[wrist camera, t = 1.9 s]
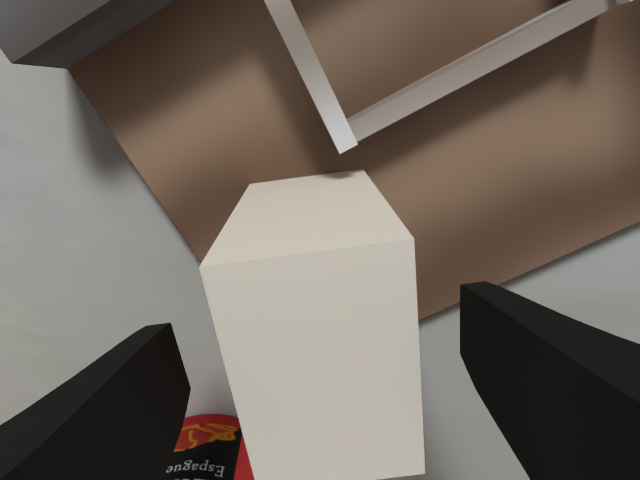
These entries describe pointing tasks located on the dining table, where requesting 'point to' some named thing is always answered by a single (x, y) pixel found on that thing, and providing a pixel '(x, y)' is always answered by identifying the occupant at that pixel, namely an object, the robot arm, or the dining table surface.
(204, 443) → the canned food
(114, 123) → the walnut shelf
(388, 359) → the cream carton
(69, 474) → the robot arm
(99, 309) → the dining table surface
